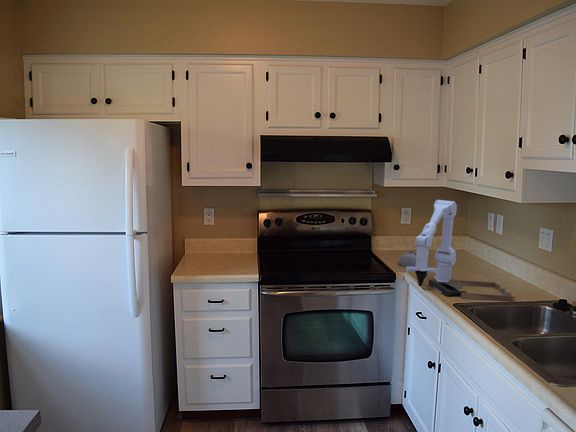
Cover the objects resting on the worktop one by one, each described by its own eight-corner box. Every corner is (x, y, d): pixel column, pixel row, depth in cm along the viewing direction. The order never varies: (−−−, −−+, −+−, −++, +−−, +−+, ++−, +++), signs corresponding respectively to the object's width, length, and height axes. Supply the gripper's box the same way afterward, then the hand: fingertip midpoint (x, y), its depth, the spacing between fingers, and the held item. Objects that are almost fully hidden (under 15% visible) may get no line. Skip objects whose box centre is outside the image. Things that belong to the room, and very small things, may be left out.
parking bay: (448, 284, 232) (448, 279, 231) (496, 286, 229) (496, 282, 229) (461, 298, 208) (461, 293, 208) (514, 301, 206) (515, 296, 206)
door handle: (454, 280, 231) (426, 278, 229) (476, 292, 212) (445, 290, 209) (454, 286, 232) (425, 285, 229) (475, 299, 212) (444, 297, 210)
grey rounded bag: (418, 270, 259) (432, 264, 274) (419, 256, 258) (433, 251, 273) (394, 265, 269) (410, 260, 284) (395, 252, 268) (411, 247, 283)
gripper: (408, 260, 216) (406, 287, 218) (438, 261, 215) (436, 288, 217) (406, 257, 223) (404, 283, 225) (435, 258, 222) (433, 284, 224)
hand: (420, 285), depth 221 cm, fingers closed
